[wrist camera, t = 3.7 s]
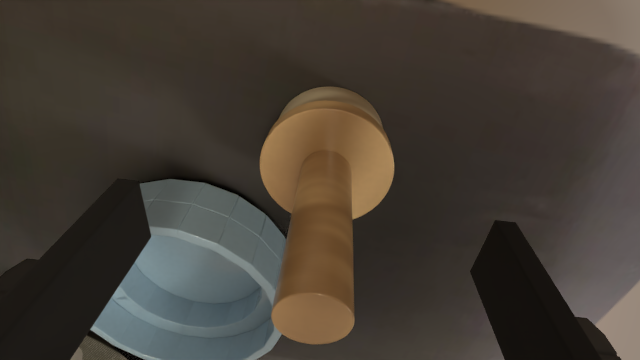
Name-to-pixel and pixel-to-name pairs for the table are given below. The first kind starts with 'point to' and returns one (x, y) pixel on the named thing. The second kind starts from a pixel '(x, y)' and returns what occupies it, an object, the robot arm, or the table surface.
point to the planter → (96, 349)
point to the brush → (323, 205)
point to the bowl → (198, 278)
